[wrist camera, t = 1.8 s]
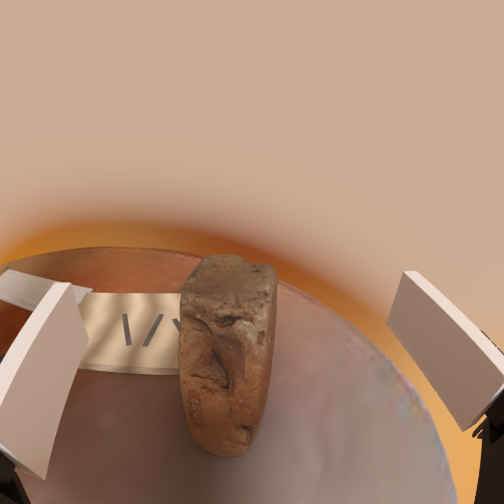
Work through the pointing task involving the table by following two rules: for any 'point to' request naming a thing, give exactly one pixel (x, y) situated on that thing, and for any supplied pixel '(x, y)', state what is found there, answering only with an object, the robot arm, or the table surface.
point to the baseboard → (30, 289)
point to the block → (226, 350)
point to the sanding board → (131, 332)
